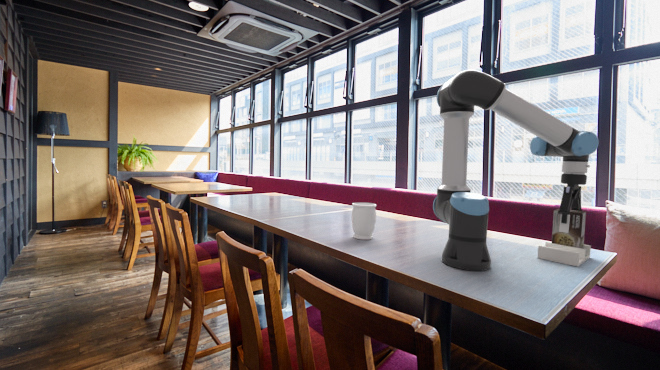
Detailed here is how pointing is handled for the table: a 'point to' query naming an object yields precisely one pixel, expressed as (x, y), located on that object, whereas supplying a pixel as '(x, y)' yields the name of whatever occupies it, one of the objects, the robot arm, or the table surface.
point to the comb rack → (564, 253)
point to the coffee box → (570, 229)
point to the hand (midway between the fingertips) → (568, 230)
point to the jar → (363, 220)
